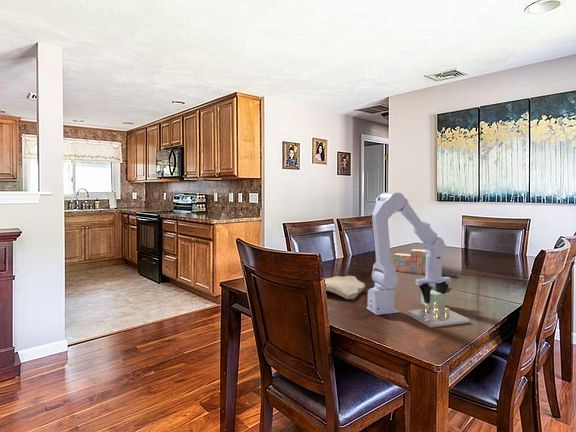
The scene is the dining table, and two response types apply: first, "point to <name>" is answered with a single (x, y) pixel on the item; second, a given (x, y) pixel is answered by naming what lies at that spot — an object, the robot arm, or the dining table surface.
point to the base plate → (437, 316)
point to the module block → (435, 299)
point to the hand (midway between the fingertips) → (432, 302)
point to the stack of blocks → (411, 262)
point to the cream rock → (344, 286)
